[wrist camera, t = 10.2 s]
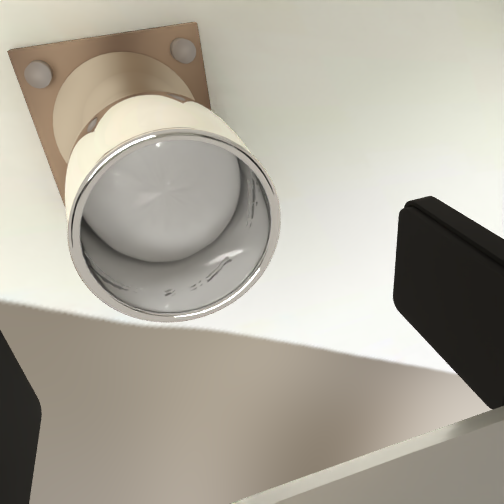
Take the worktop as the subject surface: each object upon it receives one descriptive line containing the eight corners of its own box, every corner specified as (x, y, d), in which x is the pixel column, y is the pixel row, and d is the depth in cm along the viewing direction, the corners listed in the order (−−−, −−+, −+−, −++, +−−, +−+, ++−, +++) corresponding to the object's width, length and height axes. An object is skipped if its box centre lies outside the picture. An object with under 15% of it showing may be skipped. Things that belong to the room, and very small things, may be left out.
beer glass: (171, 45, 25) (256, 84, 12) (210, 159, 28) (306, 278, 16) (49, 87, 24) (6, 176, 11) (106, 199, 27) (122, 359, 15)
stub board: (192, 21, 26) (202, 23, 23) (219, 182, 31) (229, 196, 29) (10, 49, 24) (2, 54, 21) (71, 216, 29) (70, 233, 26)
